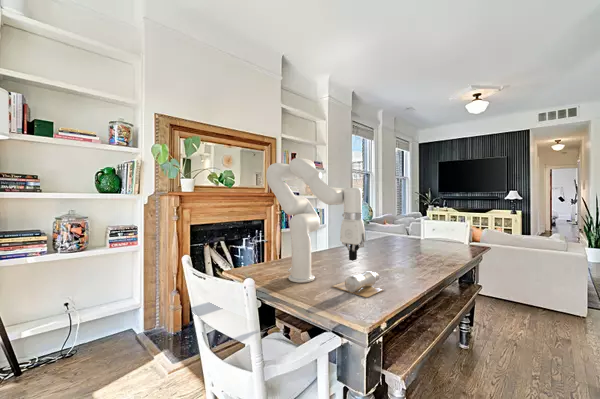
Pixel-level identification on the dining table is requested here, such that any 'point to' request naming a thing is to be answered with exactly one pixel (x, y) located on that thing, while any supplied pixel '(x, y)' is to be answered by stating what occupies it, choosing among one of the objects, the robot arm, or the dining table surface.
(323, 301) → the dining table surface
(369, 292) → the cork mat
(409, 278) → the dining table surface
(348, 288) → the plastic bottle
